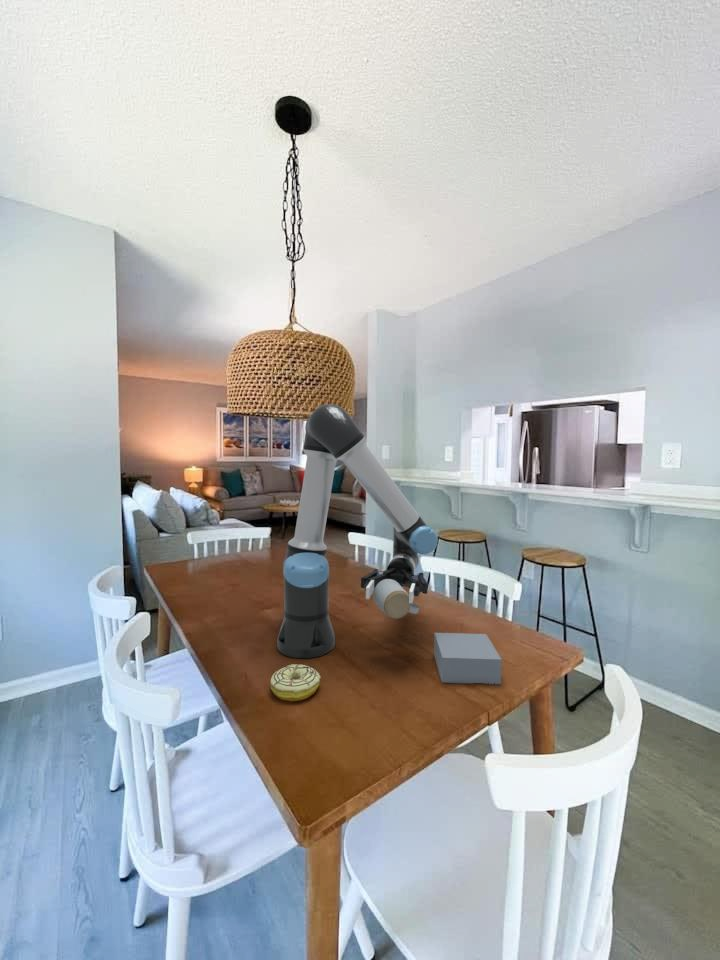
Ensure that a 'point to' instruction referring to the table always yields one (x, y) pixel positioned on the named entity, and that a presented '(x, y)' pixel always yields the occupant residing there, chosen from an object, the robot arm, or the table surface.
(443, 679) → the riser block
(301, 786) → the table surface
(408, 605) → the ceramic mug
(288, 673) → the decorated donut
